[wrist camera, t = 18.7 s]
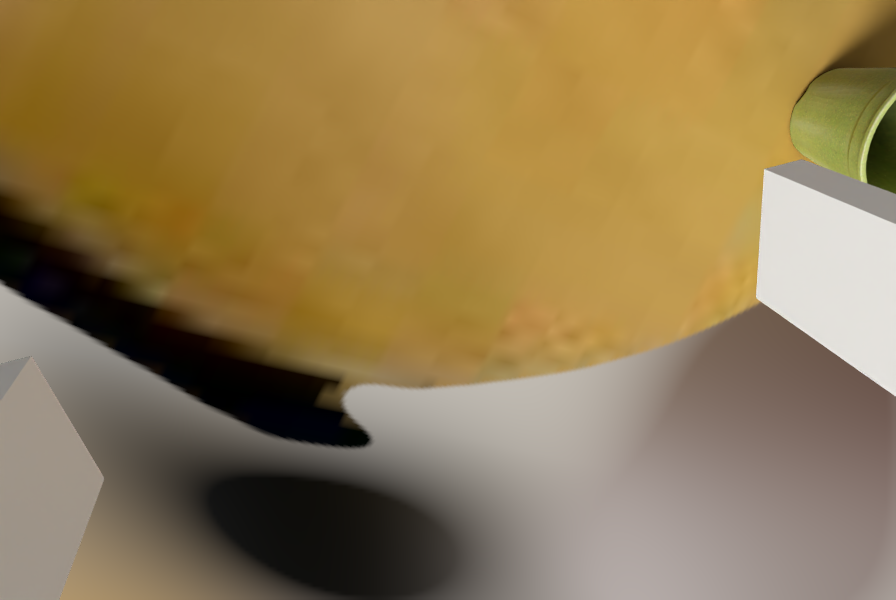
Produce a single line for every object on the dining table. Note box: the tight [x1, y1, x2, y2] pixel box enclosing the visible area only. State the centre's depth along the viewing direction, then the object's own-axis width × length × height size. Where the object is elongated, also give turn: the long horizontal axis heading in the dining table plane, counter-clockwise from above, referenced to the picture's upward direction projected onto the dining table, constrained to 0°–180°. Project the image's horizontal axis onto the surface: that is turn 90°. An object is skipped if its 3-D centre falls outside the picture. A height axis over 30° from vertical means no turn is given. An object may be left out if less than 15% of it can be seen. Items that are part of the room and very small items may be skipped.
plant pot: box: [790, 68, 896, 194], centre depth 40 cm, size 9×9×9 cm
